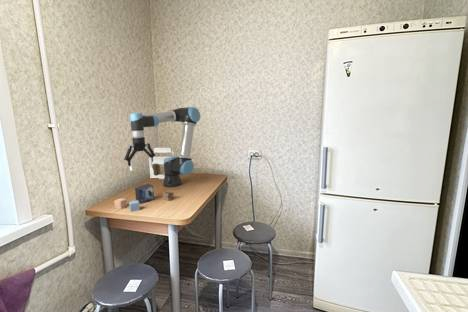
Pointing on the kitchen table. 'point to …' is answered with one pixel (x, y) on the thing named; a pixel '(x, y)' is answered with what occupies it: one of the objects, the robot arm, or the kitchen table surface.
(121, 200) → the terracotta block
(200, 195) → the kitchen table surface
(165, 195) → the walnut block
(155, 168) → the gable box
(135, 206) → the slate block
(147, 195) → the small box
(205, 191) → the kitchen table surface
